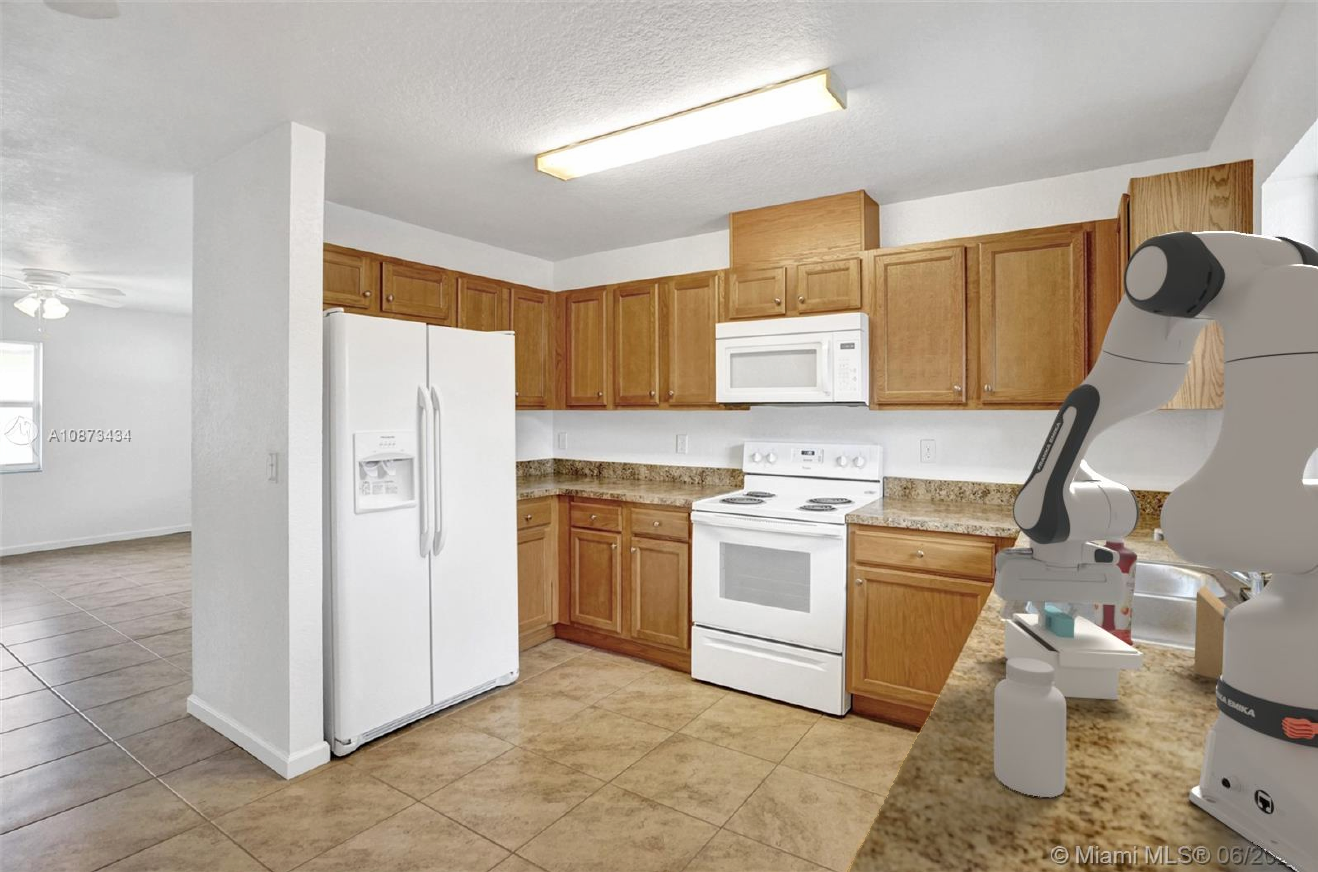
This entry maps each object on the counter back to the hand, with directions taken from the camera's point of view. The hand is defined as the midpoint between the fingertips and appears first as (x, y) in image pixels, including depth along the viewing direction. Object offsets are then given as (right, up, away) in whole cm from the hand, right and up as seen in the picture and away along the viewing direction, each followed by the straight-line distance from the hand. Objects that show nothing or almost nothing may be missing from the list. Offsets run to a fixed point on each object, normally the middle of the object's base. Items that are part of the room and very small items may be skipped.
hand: (1056, 626), depth 118 cm
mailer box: (0, -9, 0) cm, 9 cm away
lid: (+3, -3, 0) cm, 4 cm away
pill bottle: (-24, -10, -34) cm, 42 cm away
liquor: (+21, -9, +16) cm, 27 cm away
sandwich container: (+34, -9, -1) cm, 35 cm away
